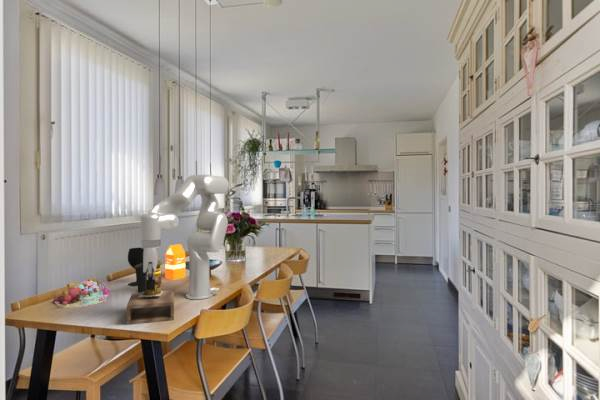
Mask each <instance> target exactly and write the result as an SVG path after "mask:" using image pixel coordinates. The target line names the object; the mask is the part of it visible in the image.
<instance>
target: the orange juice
mask: <svg viewBox="0 0 600 400" xmlns="http://www.w3.org/2000/svg"><path fill="white" fill-rule="evenodd" d="M164 258H165V263H164V265H165V266H164V267H165V269H164V270H165V273H164V274H165V279H166V280H167V279H168V280H179V279H182V278H186V252H185V249H184V248H183V245H182V244H181V243H178V244H172V245H169V246H168V248H167V250H166V252H165V257H164Z"/></svg>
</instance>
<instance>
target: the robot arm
mask: <svg viewBox="0 0 600 400" xmlns="http://www.w3.org/2000/svg"><path fill="white" fill-rule="evenodd" d="M229 187H230V183H229V180H228V179H227V178H226V177H224V176H219V175H212V174H192V175H189V176H188V177H187V178H186V179H185V180H184V181H183V182H182V183H181V185H180V186H179V188H178V189H177V190H176V191H175V192H174V193H173V194H172V195H169V196H168V197H166V198H164V199H162V200H161V201H160V202H158V203H157V204H155V205H154V207H152V209H150V211H149V213H146V214H142V216H141V217H140V248H143V249H144V253H143V272H144V273H145V272H146V271H147V280H146V289H147V290H151V289H155V279H154V272H156V267H157V265H158V253H159V251H158V250H159V249H158V248H161V247H162V245H161V241H162V239H161V235H162V233H161V231H174V230H175V229H176V228H177V227H178V225H179V218H178V216H177V215H176V214H174V213H173V212H176V211H180V210H183V209H185V208H187V207H189V206H190V205H191V204H192V203H193V201H194V200H195V198H196V197H197V196H198V194H200V198H201V205H200V208H199V212H198V215H197V218H196V222H195V223H196V224H195V225H196V228H197V229H198V230H200V231H195V232H192V233H190V234H189V235H188V237H187V241H186V243H187V249H188V258H189V260H188V261H189V262H188V263H189V264H188V265H189V276H188V277H189V280H188V281H189V283H188V284H189V286H188V287H189V292H188V293H186V295H185V297H186V298H187V299H190V300H206V299H209V298H212V297H213V293H217V292H218V293H219V292H220V287H216V286H215V287H212V286H210V256H209V254H208V253H217V252H219V251H220V250H221V249H222V247H223V244H224V241H225V237H226V233H227V229H228V225H229V223H228V222H229V221H228V217H227V215H226V213H223V212H220V211H218V210H219V201H218V198H217V197H216V195H215V194H221V195H222V194H226V193H227V192H228V191H229ZM152 270H153V272H152Z"/></svg>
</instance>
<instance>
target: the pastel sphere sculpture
mask: <svg viewBox="0 0 600 400" xmlns="http://www.w3.org/2000/svg"><path fill="white" fill-rule="evenodd" d="M97 281H98V280H97V279H95V278H94V277H89V278H87V281H84V280H83V282H82V283H79V282H69V283H68V284H67V285H66V288H67V289H68V290H63V291H62V295H59V296H56V297H54V299H53V300H51V302H52V303H54V304H55V305H56V306H57V307H58V308H60V309H74V308H75V309H77V308H81V307H82V308H84V307H88V305H90V306H93V304H94V305H97V304H98V303H99V304H101V303H103V301H104V302H106V301H107V296H108V295H109V296H111V294H110V292H109V289H108V287H107V283H105V281H103V282H101V283H99V286H98V282H97ZM109 296H108V297H109ZM105 297H106V298H105ZM83 306H84V307H83Z"/></svg>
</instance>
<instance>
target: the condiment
mask: <svg viewBox="0 0 600 400" xmlns="http://www.w3.org/2000/svg"><path fill="white" fill-rule="evenodd" d="M152 272H153V270H152ZM154 279H155V289H151V290H147V289H146V292H142V293H141V294H140V296H139V297H143V296H160V295H161V294H162V293H163V291H164V290H162V271H161V265H160V264H157V267H156V272H154ZM146 280H147V272H146Z"/></svg>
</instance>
